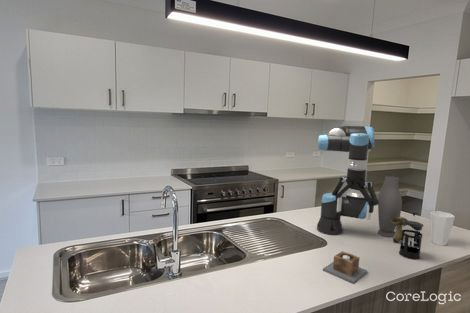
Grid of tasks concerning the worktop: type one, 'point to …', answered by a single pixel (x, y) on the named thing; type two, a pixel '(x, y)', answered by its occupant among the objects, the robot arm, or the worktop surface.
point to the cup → (441, 227)
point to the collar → (346, 263)
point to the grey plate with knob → (351, 279)
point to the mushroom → (398, 227)
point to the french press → (411, 247)
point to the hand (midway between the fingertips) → (352, 215)
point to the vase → (389, 206)
